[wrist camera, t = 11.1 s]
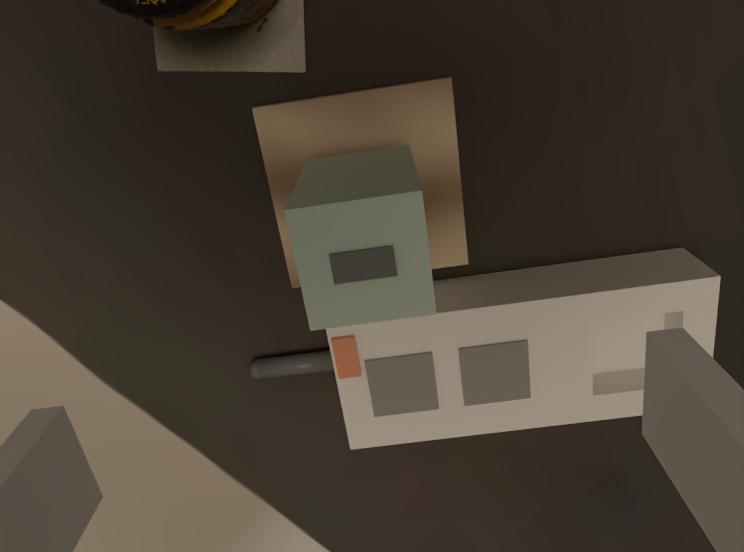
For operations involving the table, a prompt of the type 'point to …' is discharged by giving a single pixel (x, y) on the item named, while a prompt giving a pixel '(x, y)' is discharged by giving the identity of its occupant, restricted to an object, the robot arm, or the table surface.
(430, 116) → the cork coaster
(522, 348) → the power strip
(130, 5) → the condiment
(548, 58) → the table surface
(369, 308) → the block
